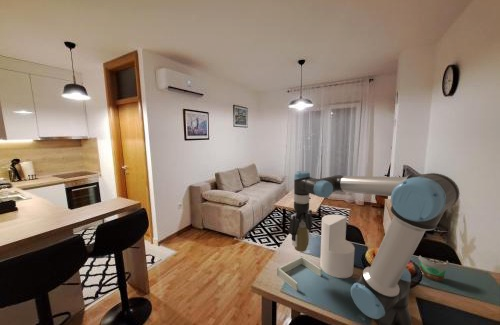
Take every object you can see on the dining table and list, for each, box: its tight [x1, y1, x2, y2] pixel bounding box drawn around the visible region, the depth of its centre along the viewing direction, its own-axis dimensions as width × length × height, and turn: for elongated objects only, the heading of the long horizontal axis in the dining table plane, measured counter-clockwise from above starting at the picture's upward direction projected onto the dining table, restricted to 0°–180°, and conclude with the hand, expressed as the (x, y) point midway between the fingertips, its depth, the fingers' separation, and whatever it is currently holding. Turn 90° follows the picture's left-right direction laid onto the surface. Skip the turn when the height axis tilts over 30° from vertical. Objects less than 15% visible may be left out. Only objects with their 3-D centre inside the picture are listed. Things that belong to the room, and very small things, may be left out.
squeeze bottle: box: [293, 219, 309, 253], centre depth 108 cm, size 8×8×18 cm
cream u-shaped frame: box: [276, 255, 323, 292], centre depth 111 cm, size 14×19×4 cm
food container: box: [417, 255, 450, 283], centre depth 107 cm, size 12×6×10 cm, turn 65°
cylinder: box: [319, 214, 356, 279], centre depth 115 cm, size 17×17×28 cm
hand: (300, 243), depth 108 cm, fingers closed on squeeze bottle, 8 cm apart
